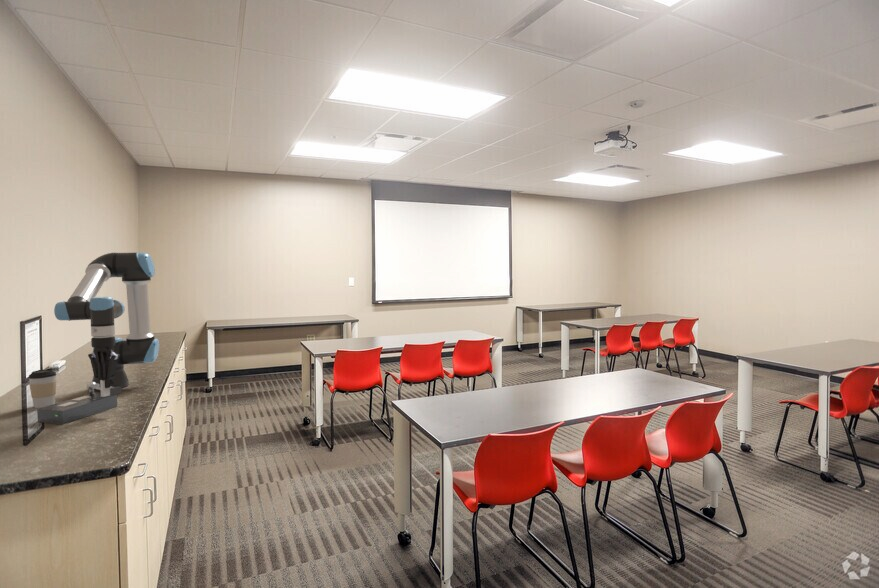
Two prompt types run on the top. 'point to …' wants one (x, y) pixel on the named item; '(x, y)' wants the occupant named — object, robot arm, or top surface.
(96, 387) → the grey long bar
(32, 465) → the top surface
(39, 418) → the lever switch
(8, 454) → the top surface
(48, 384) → the coffee cup
